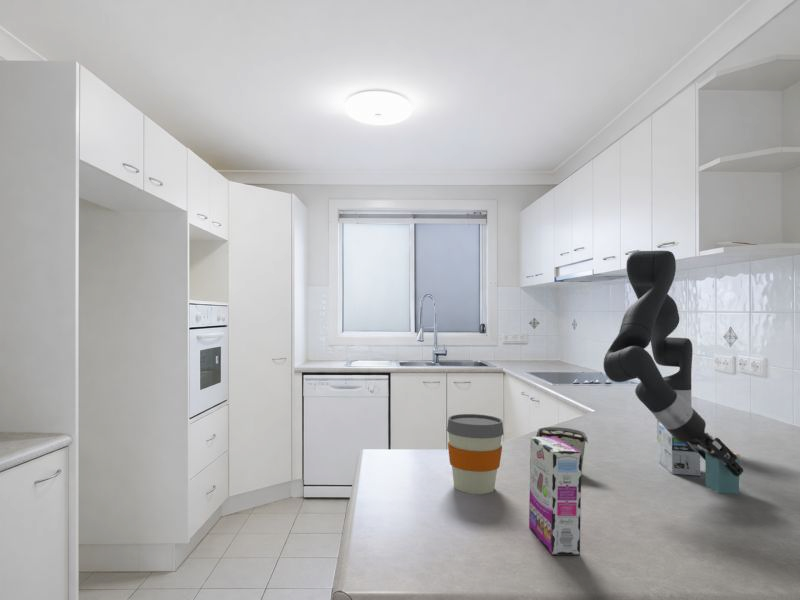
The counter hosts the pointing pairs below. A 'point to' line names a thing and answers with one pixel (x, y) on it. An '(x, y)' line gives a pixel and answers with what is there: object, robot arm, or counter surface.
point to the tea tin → (721, 476)
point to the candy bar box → (555, 495)
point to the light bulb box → (677, 455)
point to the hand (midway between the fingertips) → (726, 467)
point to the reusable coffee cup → (474, 451)
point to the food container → (566, 437)
